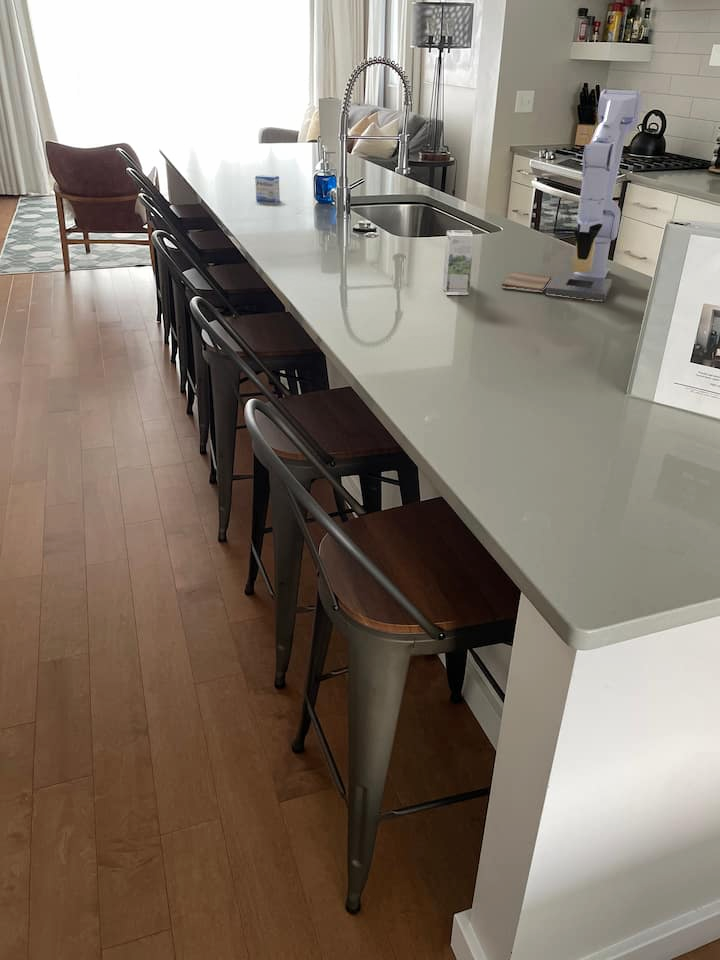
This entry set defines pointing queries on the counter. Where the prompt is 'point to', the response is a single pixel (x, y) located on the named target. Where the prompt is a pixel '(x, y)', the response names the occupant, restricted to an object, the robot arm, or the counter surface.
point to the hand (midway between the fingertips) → (583, 256)
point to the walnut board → (527, 281)
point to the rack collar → (579, 286)
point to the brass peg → (581, 264)
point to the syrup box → (458, 260)
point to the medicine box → (267, 188)
